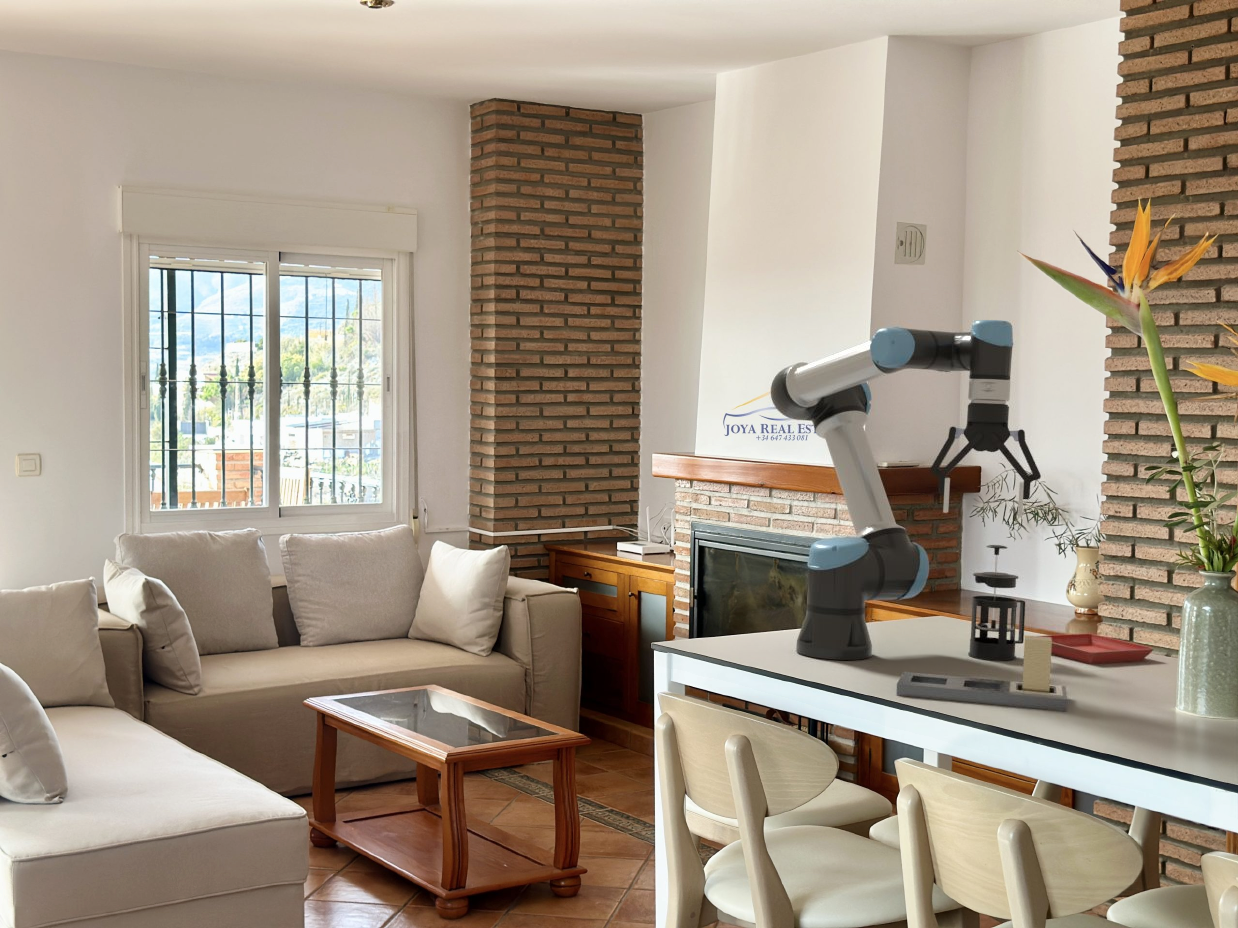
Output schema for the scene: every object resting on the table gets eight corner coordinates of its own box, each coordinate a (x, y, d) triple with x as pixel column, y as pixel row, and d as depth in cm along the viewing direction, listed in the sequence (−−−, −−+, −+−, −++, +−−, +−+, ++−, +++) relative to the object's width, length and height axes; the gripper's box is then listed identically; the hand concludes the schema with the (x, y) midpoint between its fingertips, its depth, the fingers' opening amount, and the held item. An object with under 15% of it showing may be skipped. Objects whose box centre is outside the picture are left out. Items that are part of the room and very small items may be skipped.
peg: (1021, 702, 227) (1024, 638, 227) (1021, 697, 232) (1024, 635, 231) (1048, 705, 226) (1051, 641, 226) (1048, 700, 230) (1051, 637, 230)
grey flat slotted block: (896, 694, 230) (897, 681, 230) (902, 682, 241) (903, 669, 241) (1066, 711, 222) (1067, 697, 222) (1065, 697, 233) (1065, 684, 233)
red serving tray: (1155, 663, 274) (1156, 647, 274) (1090, 667, 266) (1091, 651, 266) (1089, 648, 290) (1089, 632, 290) (1026, 651, 282) (1026, 636, 282)
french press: (977, 661, 267) (982, 547, 266) (957, 652, 276) (962, 542, 275) (1031, 661, 269) (1037, 548, 268) (1010, 652, 278) (1015, 543, 277)
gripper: (919, 399, 251) (913, 511, 252) (1058, 404, 243) (1051, 520, 244) (922, 400, 258) (917, 509, 259) (1057, 405, 250) (1051, 517, 251)
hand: (982, 514), depth 252 cm, fingers open, 13 cm apart
